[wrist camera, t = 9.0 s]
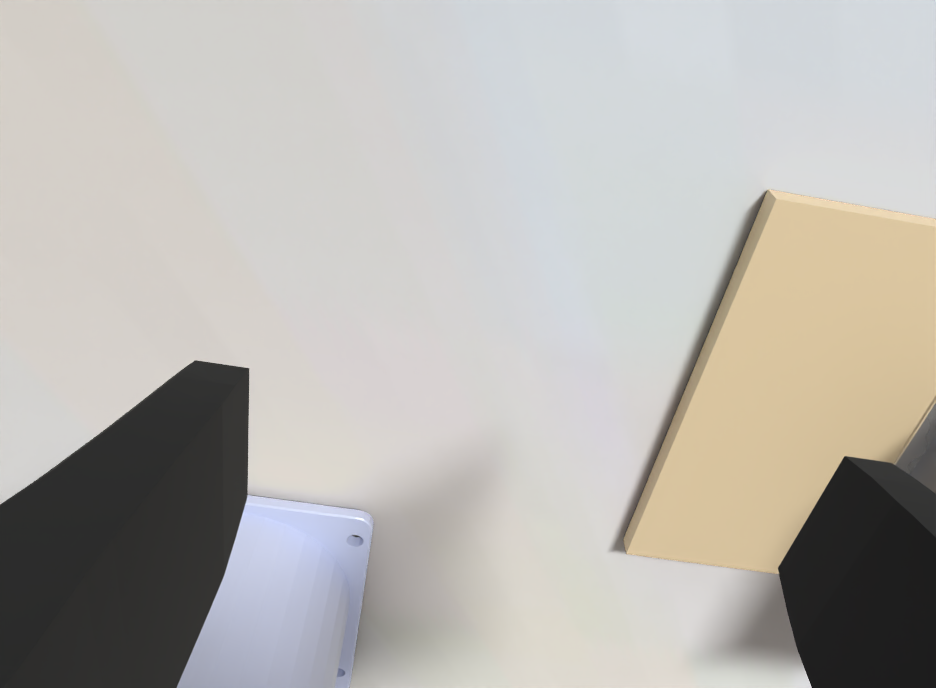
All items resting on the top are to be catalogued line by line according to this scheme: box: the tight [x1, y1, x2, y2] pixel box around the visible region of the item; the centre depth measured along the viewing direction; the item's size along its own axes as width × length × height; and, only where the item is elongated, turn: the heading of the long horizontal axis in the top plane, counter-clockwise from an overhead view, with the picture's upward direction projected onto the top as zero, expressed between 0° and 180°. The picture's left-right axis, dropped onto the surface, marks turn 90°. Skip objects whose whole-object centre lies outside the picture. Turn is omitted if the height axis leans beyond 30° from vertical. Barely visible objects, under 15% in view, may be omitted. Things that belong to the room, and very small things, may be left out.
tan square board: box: [623, 190, 936, 574], centre depth 21 cm, size 12×14×1 cm
